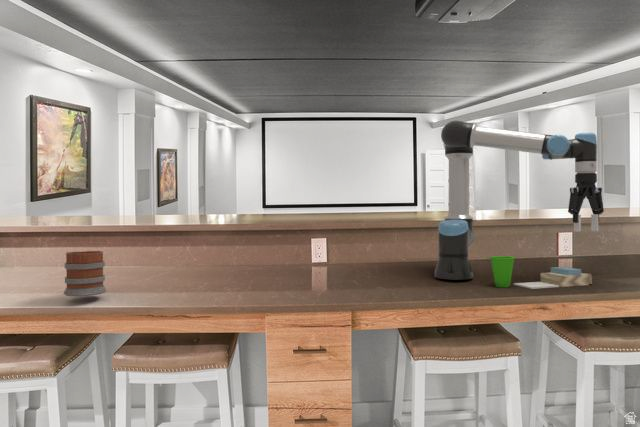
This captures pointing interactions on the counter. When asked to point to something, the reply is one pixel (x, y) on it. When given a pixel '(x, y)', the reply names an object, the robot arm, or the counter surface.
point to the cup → (502, 270)
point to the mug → (84, 273)
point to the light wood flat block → (566, 279)
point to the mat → (536, 285)
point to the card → (565, 271)
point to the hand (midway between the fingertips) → (586, 231)
